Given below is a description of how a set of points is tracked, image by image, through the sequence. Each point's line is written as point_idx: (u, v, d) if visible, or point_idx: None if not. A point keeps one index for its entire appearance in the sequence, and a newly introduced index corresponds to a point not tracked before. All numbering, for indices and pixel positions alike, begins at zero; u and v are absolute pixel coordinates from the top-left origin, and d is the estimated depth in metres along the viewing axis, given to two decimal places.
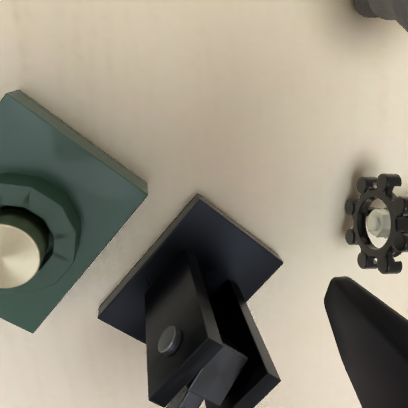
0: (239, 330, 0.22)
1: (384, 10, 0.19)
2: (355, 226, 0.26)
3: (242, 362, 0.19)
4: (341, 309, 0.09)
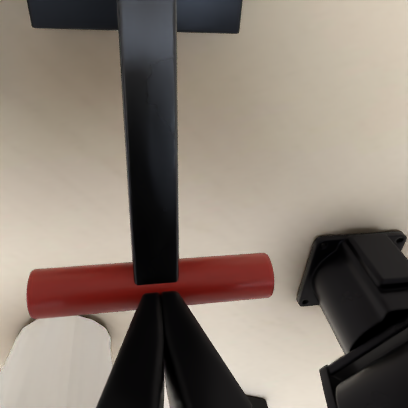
0: None
1: None
2: None
3: None
4: None
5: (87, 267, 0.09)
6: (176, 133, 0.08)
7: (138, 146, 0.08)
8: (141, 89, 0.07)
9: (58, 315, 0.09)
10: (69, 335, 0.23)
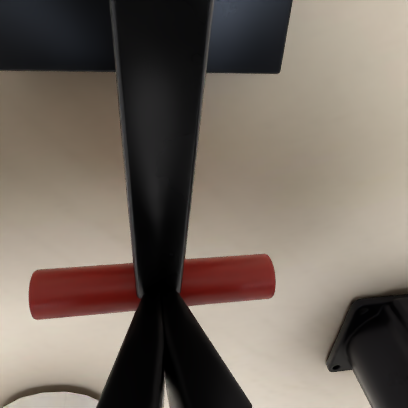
0: None
1: None
2: None
3: None
4: None
5: (88, 277, 0.09)
6: (190, 198, 0.06)
7: (144, 212, 0.07)
8: (149, 164, 0.06)
9: (63, 316, 0.09)
10: None
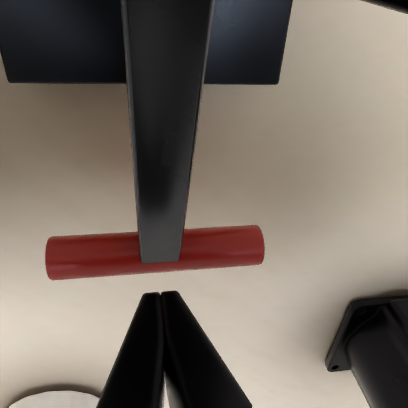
0: None
1: None
2: None
3: None
4: None
5: (96, 244, 0.10)
6: (189, 181, 0.07)
7: (148, 192, 0.07)
8: (154, 155, 0.07)
9: None
10: None
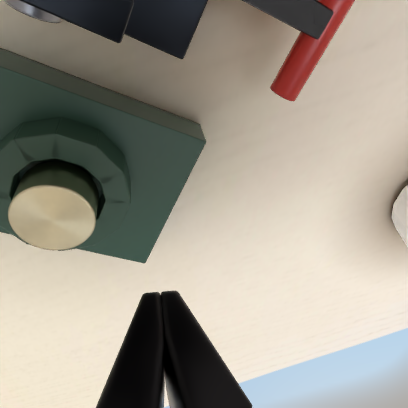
0: None
1: None
2: None
3: None
4: None
5: (288, 61, 0.15)
6: None
7: None
8: None
9: (302, 87, 0.16)
10: None
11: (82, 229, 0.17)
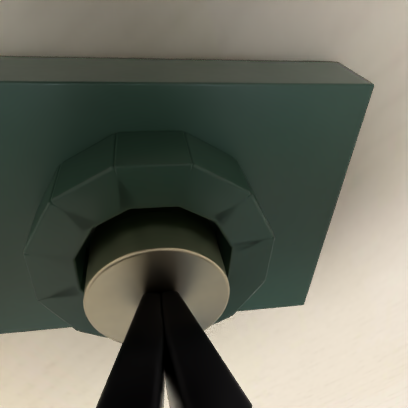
0: None
1: None
2: None
3: None
4: None
5: None
6: None
7: None
8: None
9: None
10: None
11: (210, 302, 0.10)
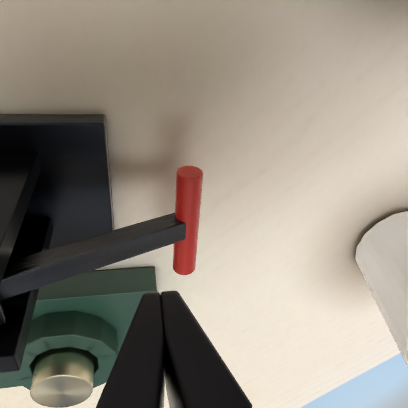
0: None
1: None
2: None
3: None
4: None
5: (174, 252, 0.19)
6: (112, 245, 0.16)
7: (119, 257, 0.17)
8: (94, 263, 0.16)
9: (194, 262, 0.20)
10: (372, 252, 0.26)
11: (84, 390, 0.23)
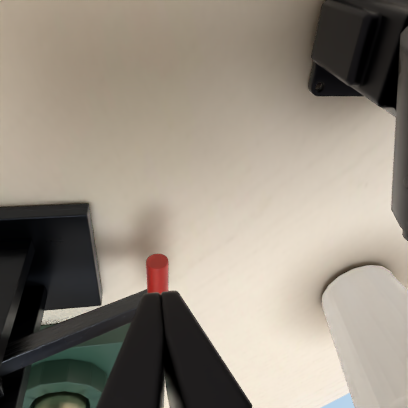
0: None
1: None
2: None
3: None
4: None
5: None
6: (92, 325, 0.20)
7: (98, 333, 0.20)
8: (77, 340, 0.20)
9: None
10: (333, 303, 0.29)
11: None
